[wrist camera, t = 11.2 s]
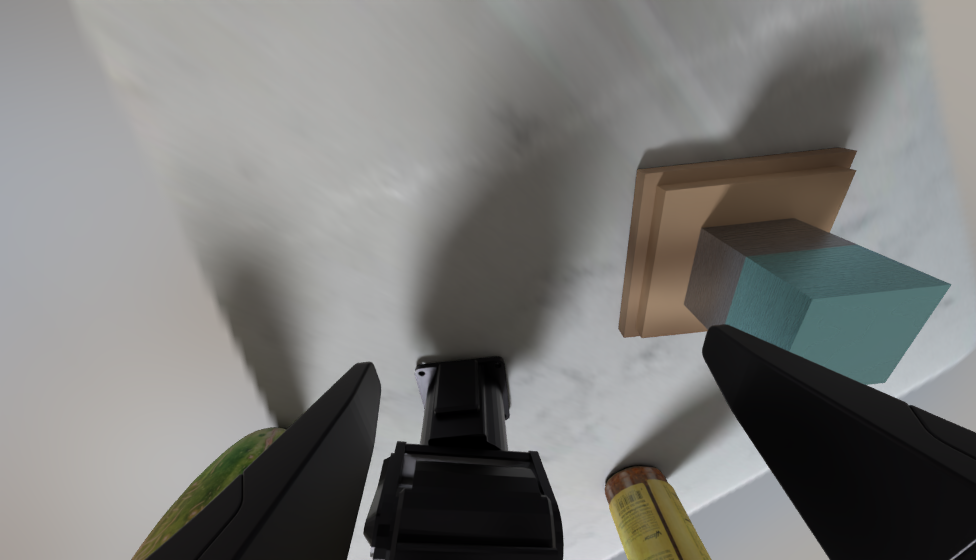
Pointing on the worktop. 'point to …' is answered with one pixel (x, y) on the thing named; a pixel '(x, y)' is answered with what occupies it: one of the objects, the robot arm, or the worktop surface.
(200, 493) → the vegetable
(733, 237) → the teal and grey block
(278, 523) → the robot arm
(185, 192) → the worktop surface
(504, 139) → the worktop surface
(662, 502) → the sauce bottle
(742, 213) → the walnut stand
